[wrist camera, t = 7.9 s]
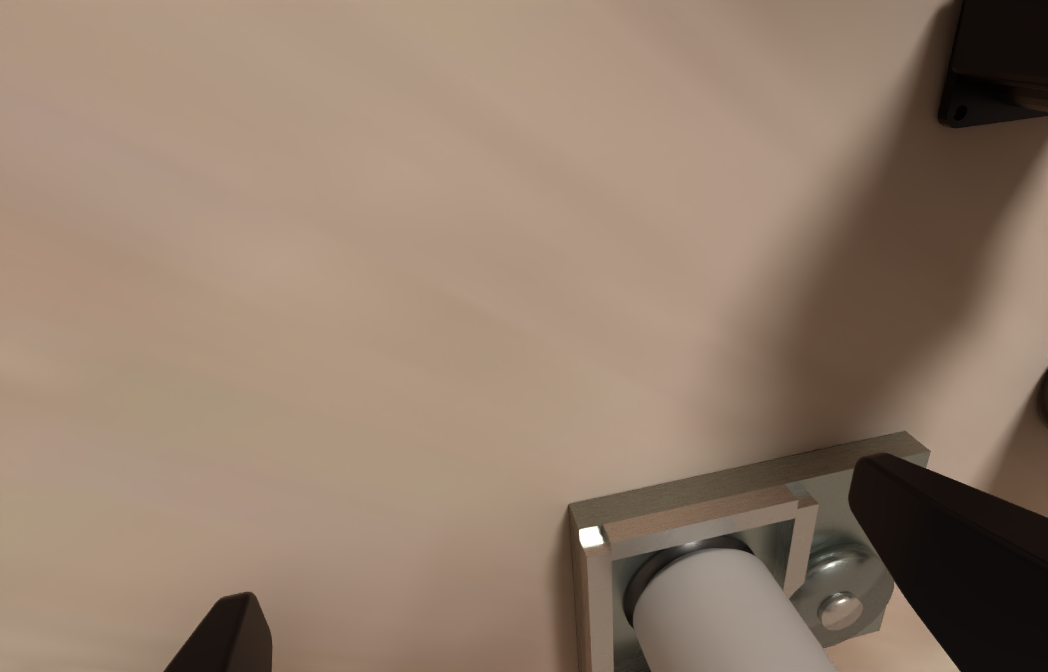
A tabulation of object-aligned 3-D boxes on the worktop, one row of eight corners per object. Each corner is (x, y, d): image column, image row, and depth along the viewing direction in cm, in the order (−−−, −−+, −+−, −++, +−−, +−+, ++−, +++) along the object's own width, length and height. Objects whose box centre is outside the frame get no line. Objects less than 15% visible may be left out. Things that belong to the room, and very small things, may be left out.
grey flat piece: (905, 431, 29) (958, 473, 26) (860, 607, 35) (899, 655, 32) (568, 504, 27) (590, 558, 24) (579, 680, 32) (597, 739, 30)
